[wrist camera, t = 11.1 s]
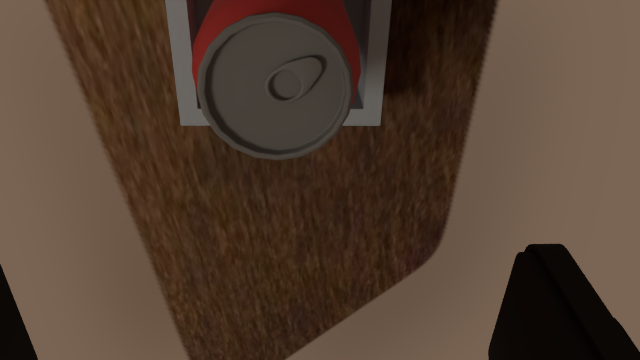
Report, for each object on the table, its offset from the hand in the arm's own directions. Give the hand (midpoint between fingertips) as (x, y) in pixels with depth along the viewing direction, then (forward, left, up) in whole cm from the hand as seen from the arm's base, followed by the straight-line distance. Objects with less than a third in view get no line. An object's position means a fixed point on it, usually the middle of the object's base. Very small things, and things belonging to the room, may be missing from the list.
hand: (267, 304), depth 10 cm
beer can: (0, 0, -23) cm, 23 cm away
